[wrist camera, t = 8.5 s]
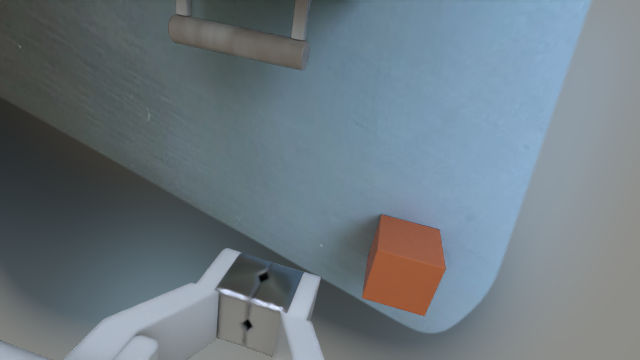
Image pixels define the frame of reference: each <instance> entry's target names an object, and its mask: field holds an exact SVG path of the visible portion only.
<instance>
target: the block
mask: <svg viewBox="0 0 640 360" xmlns="http://www.w3.org/2000/svg"><path fill="white" fill-rule="evenodd" d="M445 269H446V266H445V260H444V254H443V248H442V242H441V236H440V230H439V229H435V228H431V227H428V226H424V225H420V224H416V223H412V222H409V221H405V220H401V219H397V218H393V217H389V216H386V215H382V214H381V216H380V220H379V223H378V226H377V229H376V233H375V236H374V239H373V243H372V246H371V249H370V253H369V256H368V260H367V267H366V274H365V280H364V287H363V294H362V298H364V299H367V300H371V301H374V302H378V303H381V304H384V305H388V306H391V307H395V308H398V309H402V310H405V311H408V312H412V313H415V314H419V315H422V316H425V314H426V311H427V309H428V307H429V305H430V303H431V300H432V298H433V296H434V294H435V292H436V289H437V287H438V285H439V283H440V280H441V278H442V276H443V274H444V272H445Z"/></svg>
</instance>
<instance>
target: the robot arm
mask: <svg viewBox="0 0 640 360" xmlns="http://www.w3.org/2000/svg"><path fill="white" fill-rule="evenodd" d="M320 279H321V277H320V276H316V275H313V274H310V273H306V272H302V271H299V270H295V269H292V268H289V267H286V266H282V265H279V264H276V263H272V262H269V261H266V260H263V259H260V258H257V257H254V256H251V255H248V254H245V253H241V252H238V251H235V250H232V249H229V248H225V249H224V250H222V251H221V253H220V254H219V255H218V257H217V258H216V259H215V260H214V262H213V263H212V264H211V265H210V267H209V268H208V269H207V270H206V272H205V273H204V274H203V275H202V277H201V278H200V279H199V281H198V282H197V283H196V284H194V283H189V284H186V285H184V286H182V287H179V288H177V289H174V290H172V291H170V292H167V293H165V294H163V295H160V296H158V297H155V298H153V299H151V300H148V301H146V302H143V303H141V304H138V305H136V306H134V307H131V308H129V309H127V310H124V311H122V312H119V313H117V314H114V315H112V316H110V317H107V318H105V319H103V320H102V321H101V322H100V323H99V324H98V325H97V326H96V327H95V328H94V329H93V330H92V331H91V332H90V333H89V334H88V335H87V336H86V337H85V338H84V339H83V340H82V341H81V342H80V343H79V344H78V345H77V346H76V347H75V348H74V349H73V350H72V351H71V352H70V353H69V354H68V355H67V356H66V357H65V358H64V359H63V360H187V359H189V358H190V357H192V356H193V355H195V354H196V353H198V352H199V351H200V350H202V349H203V348H205V347H206V346H208V345H209V344H211V343H212V342H214V341H215V340H216V338H218V339H222V340H225V341H228V342H231V343H234V344H238V345H241V346H245V347H247V348H249V349H252V350H255V351H257V352H260V353H263V354H265V355H268V356H271V357H273V360H324V357H323V354H322V351H321V348H320V345H319V342H318V340H317V337H316V334H315V331H314V328H313V325H312V322H310V319H311V315H312V311H313V308H314V304H315V300H316V296H317V292H318V288H319V284H320ZM0 360H51V359H49V358H46V357H44V356H41V355H38V354H35V353H33V352H30V351H27V350H25V349H22V348H20V347H17V346H14V345H11V344H9V343H6V342H4V341H1V340H0Z"/></svg>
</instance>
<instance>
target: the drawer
mask: <svg viewBox="0 0 640 360" xmlns="http://www.w3.org/2000/svg"><path fill="white" fill-rule="evenodd" d="M310 3H311V0H295V7H294V16H293V24H292V32H291V37H286V36H281V35H276V34H272V33H267V32H262V31H257V30H252V29H248V28H243V27H238V26H233V25H228V24H224V23H219V22H214V21H209V20H204V19H200V18H195V17H190V16H192V0H176V14H174V15H173V16H172V17H171V18H170V21H169V25H168V31H169V36H170V38H171V40H172V41H173V42H175V43H178V44H183V45H187V46H192V47H197V48H201V49H206V50H210V51H215V52H219V53H224V54H228V55H233V56H238V57H242V58H247V59H251V60H256V61H260V62H265V63H270V64H274V65H279V66H283V67H288V68H292V69H297V70H304V69H305V67H306V65H307V62H308V58H309V42H308V41H305V39H306V32H307V25H308V18H309V11H310Z"/></svg>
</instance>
